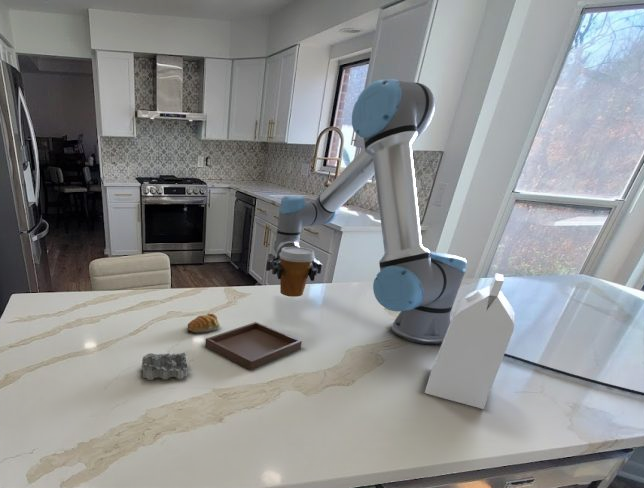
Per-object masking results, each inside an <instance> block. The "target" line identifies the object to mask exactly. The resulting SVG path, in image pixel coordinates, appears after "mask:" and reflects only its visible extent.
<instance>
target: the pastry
mask: <svg viewBox="0 0 644 488" xmlns="http://www.w3.org/2000/svg"><path fill="white" fill-rule="evenodd" d="M220 325H221V324H220V322H219V319H218V316H217V315H215V314H214V313H207V314H202V315H199V316H197V317H195V318H194V319H192V320H191V321H189V323H187V328H186V329H187V330H188V331H190V332H193V333H196V334H201V333H208V332H209V333H210V332H213V331H217V330H218V329H219V328H220Z"/></svg>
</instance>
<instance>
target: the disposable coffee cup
mask: <svg viewBox="0 0 644 488" xmlns="http://www.w3.org/2000/svg"><path fill="white" fill-rule="evenodd" d="M279 255H280V258H281V267H282V274H281V279H279V280H280V281H279V282H280V284H279V287H280V288H279V289H280V294H281V295H282V296H286V297H291V298H294V297H295V298H296V297H302V296H303V295H304V291H305V287H306V284H307V282H308V279H309V275H308V274H309V271H310V267H311V264H312V261H313V259H314V258H315V259H316V255H315V251H314V249H311V248H309V247H303V246H300V247H284V248H282V250H281V252H280V253H279Z"/></svg>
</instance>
